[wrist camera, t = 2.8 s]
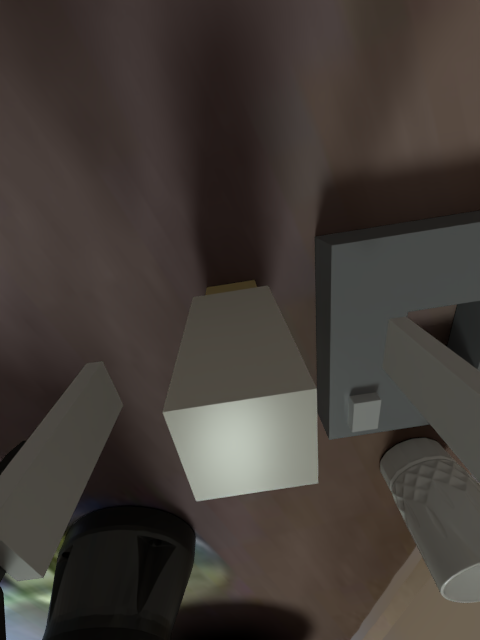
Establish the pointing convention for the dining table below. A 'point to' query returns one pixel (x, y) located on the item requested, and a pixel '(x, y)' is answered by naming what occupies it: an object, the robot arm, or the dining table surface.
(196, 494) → the plug
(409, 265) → the socket plate
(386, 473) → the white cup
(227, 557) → the dining table surface
